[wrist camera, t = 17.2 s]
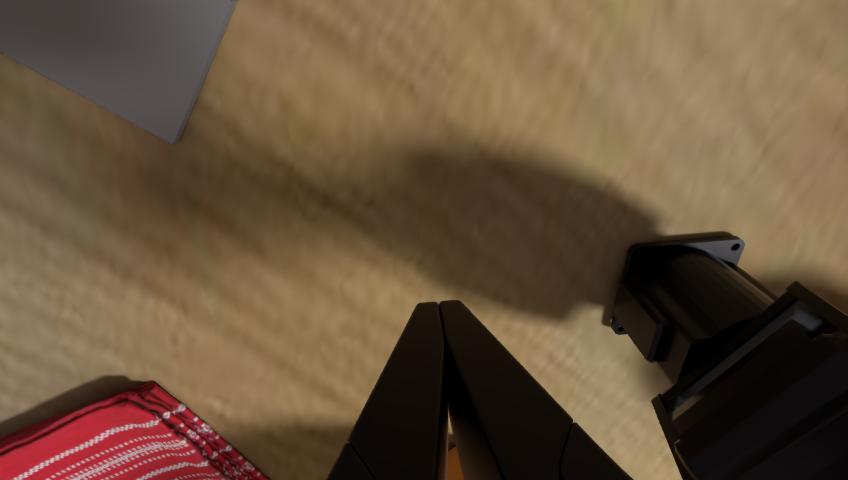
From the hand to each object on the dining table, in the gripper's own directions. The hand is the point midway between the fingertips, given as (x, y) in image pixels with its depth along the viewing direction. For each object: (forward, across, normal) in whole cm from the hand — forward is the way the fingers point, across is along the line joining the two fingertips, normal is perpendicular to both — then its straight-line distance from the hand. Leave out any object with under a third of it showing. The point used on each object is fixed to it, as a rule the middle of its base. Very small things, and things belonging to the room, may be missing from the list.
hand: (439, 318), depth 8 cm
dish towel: (+14, +22, +28) cm, 38 cm away
